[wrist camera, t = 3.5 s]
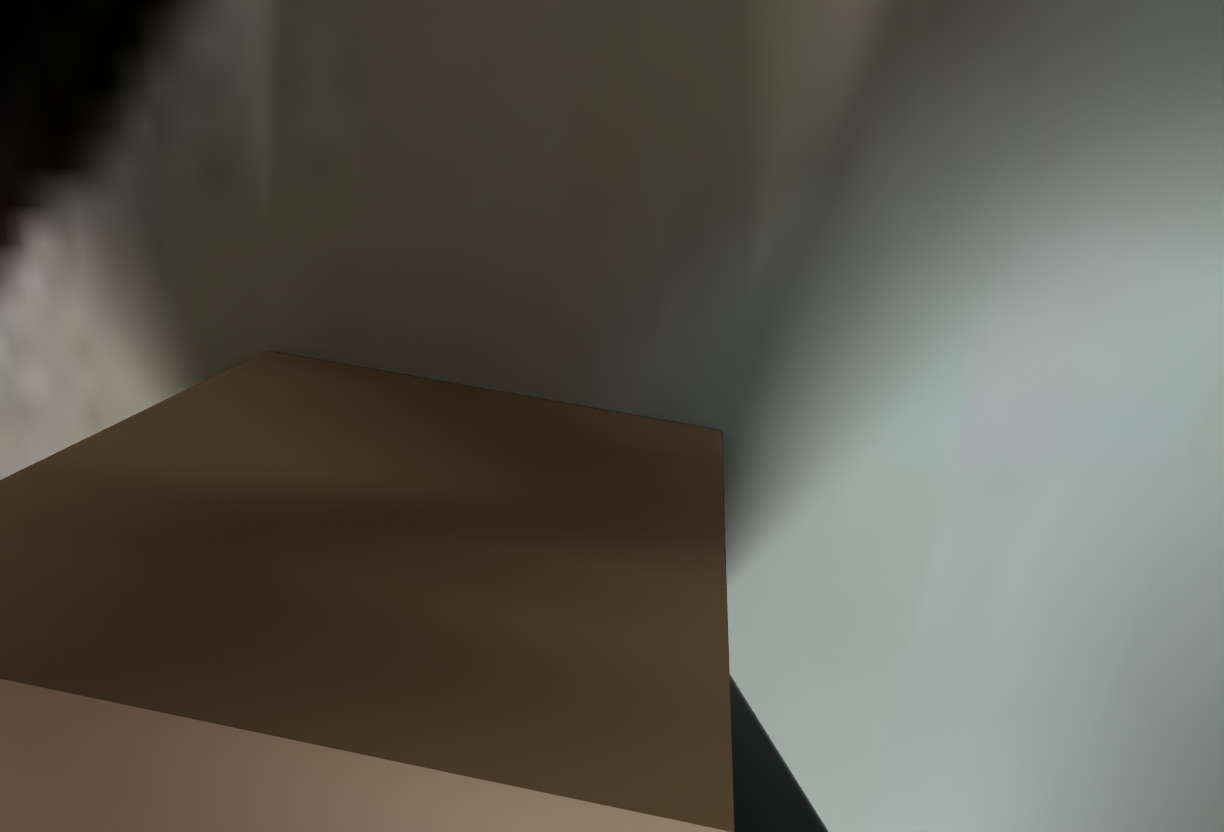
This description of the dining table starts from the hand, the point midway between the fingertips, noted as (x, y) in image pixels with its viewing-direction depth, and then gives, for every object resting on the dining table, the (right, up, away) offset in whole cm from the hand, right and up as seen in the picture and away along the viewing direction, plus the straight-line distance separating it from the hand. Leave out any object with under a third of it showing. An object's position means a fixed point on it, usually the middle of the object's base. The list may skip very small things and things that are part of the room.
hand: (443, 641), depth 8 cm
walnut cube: (0, 0, +1) cm, 1 cm away
